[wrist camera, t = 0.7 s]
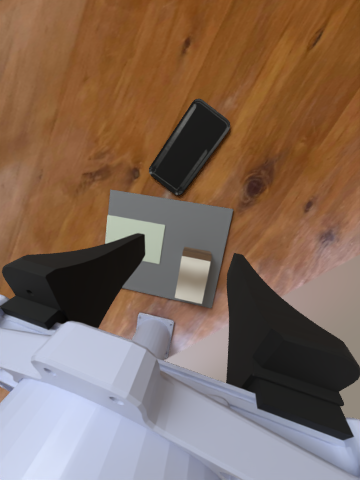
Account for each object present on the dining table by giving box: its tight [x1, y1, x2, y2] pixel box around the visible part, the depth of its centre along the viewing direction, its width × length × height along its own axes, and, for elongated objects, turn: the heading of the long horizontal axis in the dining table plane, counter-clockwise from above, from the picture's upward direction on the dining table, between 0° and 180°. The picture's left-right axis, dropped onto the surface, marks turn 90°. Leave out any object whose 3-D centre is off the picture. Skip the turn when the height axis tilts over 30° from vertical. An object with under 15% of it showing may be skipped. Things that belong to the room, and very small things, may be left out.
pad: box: [105, 215, 165, 264], centre depth 30 cm, size 12×8×1 cm, turn 80°
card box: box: [175, 247, 212, 304], centre depth 28 cm, size 9×5×4 cm, turn 170°
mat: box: [108, 190, 233, 308], centre depth 30 cm, size 20×24×1 cm
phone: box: [149, 99, 230, 195], centre depth 27 cm, size 8×1×15 cm
